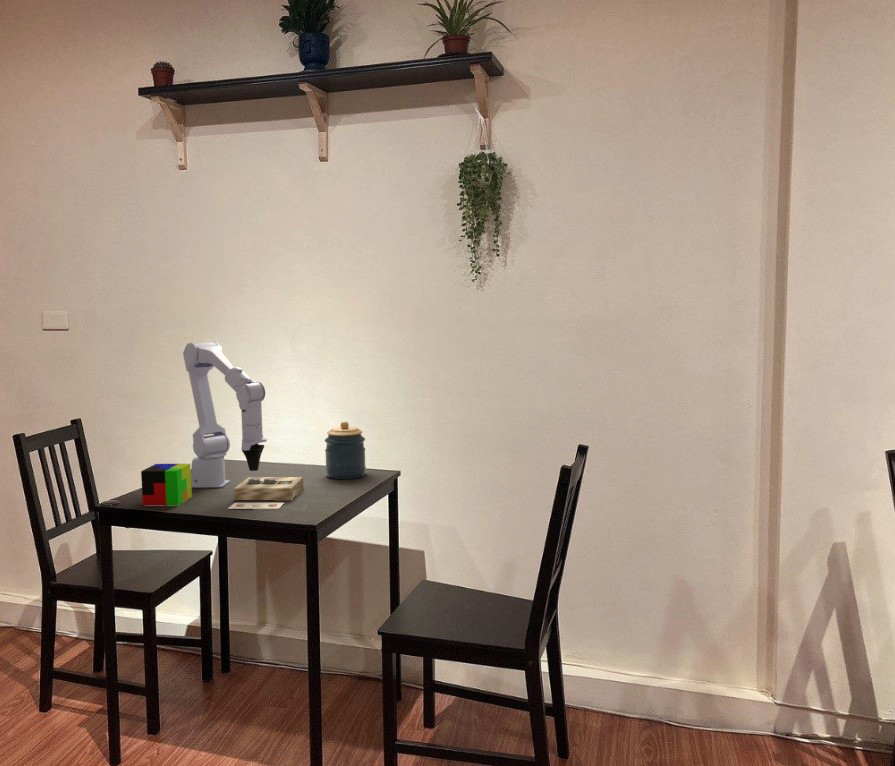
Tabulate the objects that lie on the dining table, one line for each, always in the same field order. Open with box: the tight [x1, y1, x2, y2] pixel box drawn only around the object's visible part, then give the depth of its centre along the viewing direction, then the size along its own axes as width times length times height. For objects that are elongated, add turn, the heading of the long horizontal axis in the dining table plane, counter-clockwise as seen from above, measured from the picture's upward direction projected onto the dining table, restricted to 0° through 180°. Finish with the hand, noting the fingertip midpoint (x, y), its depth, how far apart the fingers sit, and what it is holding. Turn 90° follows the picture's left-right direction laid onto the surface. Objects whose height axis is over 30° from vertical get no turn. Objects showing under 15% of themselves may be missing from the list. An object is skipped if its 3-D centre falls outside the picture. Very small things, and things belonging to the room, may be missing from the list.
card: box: [227, 502, 285, 510], centre depth 208 cm, size 14×6×1 cm, turn 88°
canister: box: [324, 420, 367, 480], centre depth 245 cm, size 13×13×18 cm
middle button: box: [264, 478, 275, 484], centre depth 221 cm, size 3×3×2 cm
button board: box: [233, 476, 304, 501], centre depth 221 cm, size 16×14×4 cm
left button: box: [249, 478, 260, 484], centre depth 221 cm, size 3×3×2 cm
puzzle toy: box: [140, 463, 193, 506], centre depth 214 cm, size 10×10×10 cm
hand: (253, 470), depth 221 cm, fingers closed
